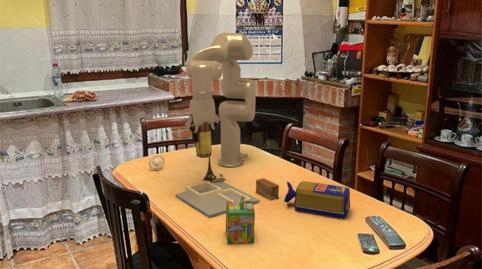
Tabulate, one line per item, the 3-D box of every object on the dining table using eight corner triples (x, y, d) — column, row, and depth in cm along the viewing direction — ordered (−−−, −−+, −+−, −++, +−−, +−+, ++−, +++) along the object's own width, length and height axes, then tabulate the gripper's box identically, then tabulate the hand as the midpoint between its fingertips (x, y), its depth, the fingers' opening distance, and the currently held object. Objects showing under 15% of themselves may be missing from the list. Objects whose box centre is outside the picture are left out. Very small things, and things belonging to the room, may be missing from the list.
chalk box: (225, 231, 161) (225, 192, 157) (251, 231, 162) (252, 191, 158) (227, 245, 153) (227, 203, 149) (254, 244, 153) (255, 202, 149)
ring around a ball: (163, 167, 225) (162, 151, 223) (168, 171, 220) (167, 155, 218) (147, 170, 221) (147, 154, 219) (152, 174, 216) (151, 157, 214)
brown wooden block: (263, 191, 197) (263, 178, 196) (278, 198, 190) (278, 185, 188) (255, 193, 195) (256, 179, 194) (270, 201, 187) (271, 187, 186)
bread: (346, 221, 170) (348, 195, 167) (281, 210, 179) (282, 185, 176) (351, 210, 179) (353, 185, 176) (289, 200, 188) (290, 176, 185)
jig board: (223, 184, 205) (223, 175, 204) (259, 202, 186) (259, 192, 184) (175, 196, 191) (175, 187, 189) (209, 218, 171) (209, 207, 170)
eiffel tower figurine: (198, 187, 202) (197, 158, 199) (190, 179, 211) (189, 151, 207) (229, 181, 209) (229, 153, 205) (220, 174, 218) (220, 147, 214)
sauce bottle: (214, 155, 187) (214, 106, 181) (206, 159, 181) (206, 109, 176) (200, 152, 189) (199, 105, 184) (192, 157, 184) (191, 108, 179)
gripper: (215, 92, 187) (215, 135, 192) (177, 96, 177) (179, 142, 181) (226, 94, 181) (226, 139, 186) (188, 99, 171) (189, 146, 176)
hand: (203, 140), depth 184 cm, fingers closed on sauce bottle, 6 cm apart
